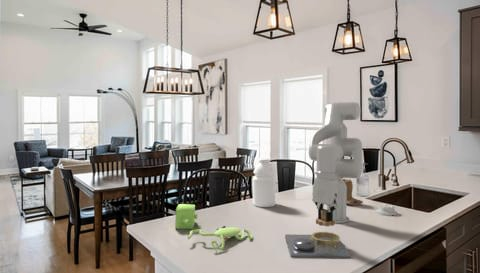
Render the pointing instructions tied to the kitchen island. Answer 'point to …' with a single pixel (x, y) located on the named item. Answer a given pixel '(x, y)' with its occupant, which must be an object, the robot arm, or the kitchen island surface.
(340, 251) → the carrier plate
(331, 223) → the planet gear
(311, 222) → the kitchen island surface
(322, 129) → the robot arm
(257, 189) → the bottle
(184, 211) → the gearbox
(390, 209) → the mechanical component
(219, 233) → the figurine
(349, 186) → the brown upright piece
